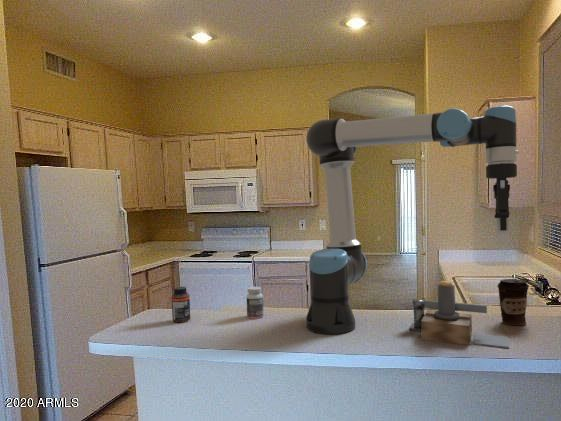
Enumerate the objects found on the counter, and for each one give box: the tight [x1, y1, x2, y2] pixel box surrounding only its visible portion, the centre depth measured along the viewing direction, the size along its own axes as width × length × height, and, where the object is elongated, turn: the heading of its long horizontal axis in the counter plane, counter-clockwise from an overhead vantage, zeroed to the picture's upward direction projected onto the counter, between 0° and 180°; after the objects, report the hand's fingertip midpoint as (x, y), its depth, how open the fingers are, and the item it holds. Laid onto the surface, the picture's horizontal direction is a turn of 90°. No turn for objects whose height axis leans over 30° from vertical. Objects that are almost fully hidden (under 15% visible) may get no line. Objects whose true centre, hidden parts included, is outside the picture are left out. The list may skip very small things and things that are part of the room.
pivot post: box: [408, 307, 425, 332], centre depth 119 cm, size 5×5×6 cm
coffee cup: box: [496, 278, 530, 326], centre depth 122 cm, size 9×8×13 cm
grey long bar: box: [411, 298, 488, 314], centre depth 115 cm, size 20×4×2 cm, turn 62°
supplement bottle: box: [171, 286, 191, 323], centre depth 135 cm, size 6×6×11 cm
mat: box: [473, 333, 510, 349], centre depth 107 cm, size 8×8×1 cm
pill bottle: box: [246, 286, 265, 320], centre depth 138 cm, size 6×6×10 cm
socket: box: [420, 309, 473, 346], centre depth 113 cm, size 12×12×5 cm
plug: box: [434, 280, 460, 321], centre depth 113 cm, size 6×6×15 cm
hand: (502, 240), depth 111 cm, fingers open, 13 cm apart
